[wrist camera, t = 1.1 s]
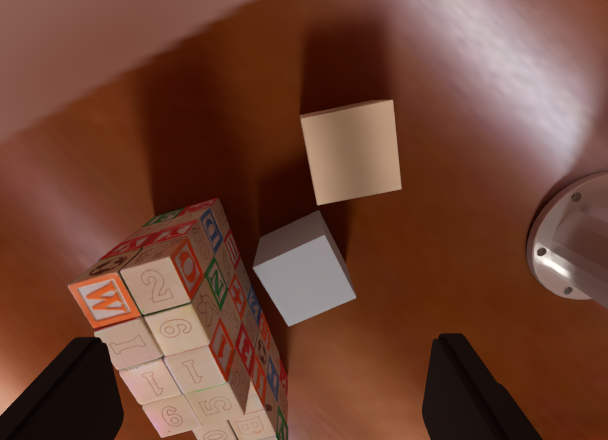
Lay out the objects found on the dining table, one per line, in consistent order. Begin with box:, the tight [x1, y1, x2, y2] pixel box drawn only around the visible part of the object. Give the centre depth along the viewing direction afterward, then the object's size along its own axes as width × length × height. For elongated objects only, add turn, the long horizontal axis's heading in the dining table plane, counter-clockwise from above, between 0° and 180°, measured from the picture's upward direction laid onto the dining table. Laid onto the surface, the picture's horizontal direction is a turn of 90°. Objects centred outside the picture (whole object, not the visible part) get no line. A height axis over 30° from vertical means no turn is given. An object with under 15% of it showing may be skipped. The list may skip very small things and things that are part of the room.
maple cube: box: [300, 100, 401, 205], centre depth 25 cm, size 6×6×6 cm
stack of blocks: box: [68, 198, 288, 440], centre depth 27 cm, size 21×6×12 cm, turn 16°
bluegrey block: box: [253, 210, 356, 327], centre depth 28 cm, size 6×6×6 cm
